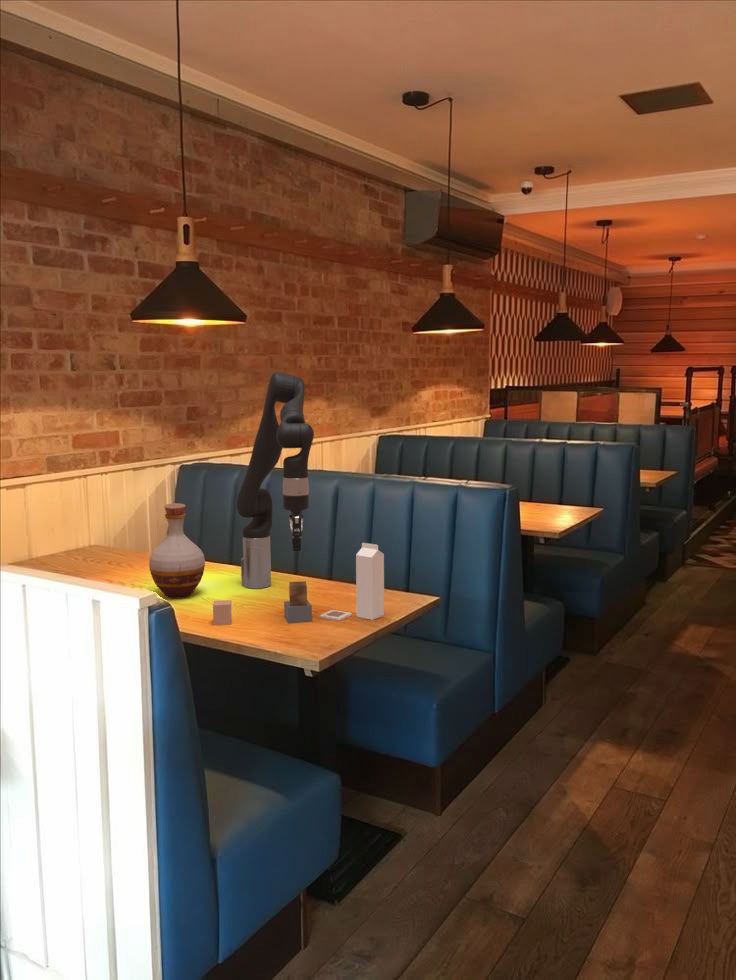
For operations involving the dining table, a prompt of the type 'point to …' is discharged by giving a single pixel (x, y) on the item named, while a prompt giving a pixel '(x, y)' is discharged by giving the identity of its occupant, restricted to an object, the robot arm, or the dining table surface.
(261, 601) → the dining table surface
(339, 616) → the tile
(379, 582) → the milk
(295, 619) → the charcoal block
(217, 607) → the terracotta block
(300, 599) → the walnut block
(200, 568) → the jug
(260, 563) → the robot arm
